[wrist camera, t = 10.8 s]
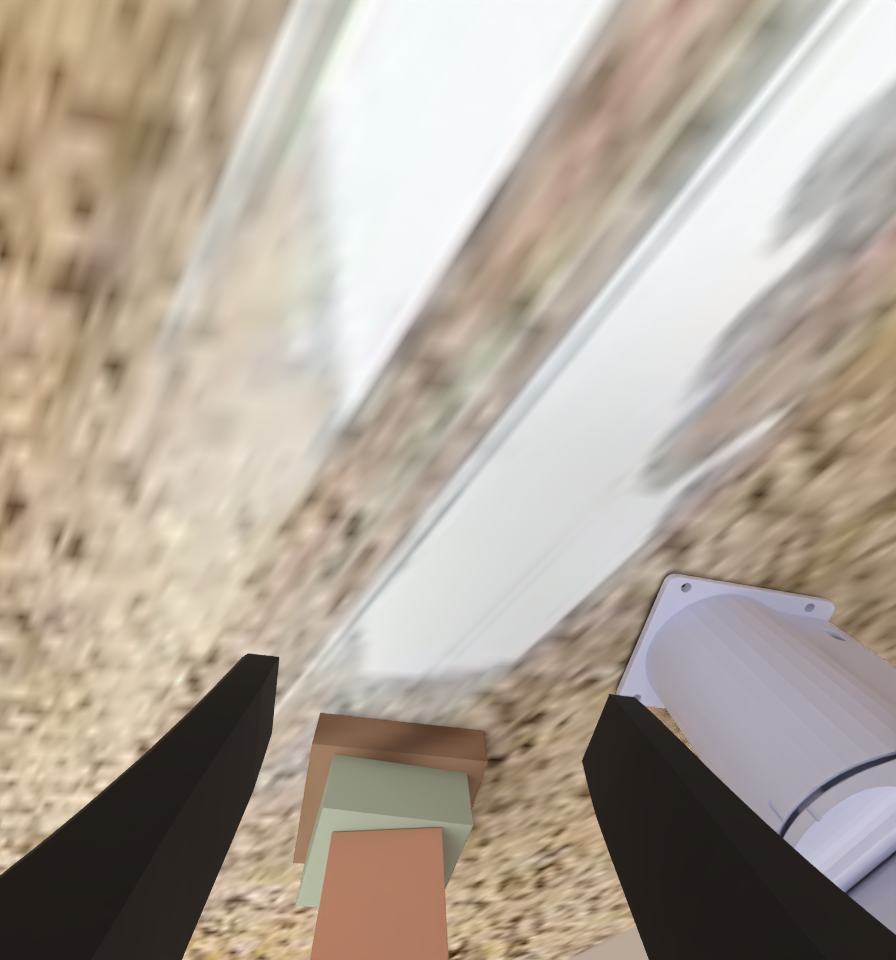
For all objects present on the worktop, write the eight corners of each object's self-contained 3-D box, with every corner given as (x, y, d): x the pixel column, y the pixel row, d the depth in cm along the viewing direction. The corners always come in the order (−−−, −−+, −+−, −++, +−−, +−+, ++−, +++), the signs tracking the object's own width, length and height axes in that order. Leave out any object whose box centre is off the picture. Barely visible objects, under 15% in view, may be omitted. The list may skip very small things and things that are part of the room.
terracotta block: (441, 827, 19) (449, 987, 14) (437, 894, 21) (443, 1057, 16) (332, 832, 19) (303, 999, 14) (336, 899, 20) (311, 1069, 16)
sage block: (466, 772, 22) (472, 825, 19) (431, 859, 24) (432, 916, 21) (333, 754, 21) (323, 807, 18) (308, 846, 23) (295, 905, 20)
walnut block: (481, 719, 24) (487, 761, 21) (447, 825, 27) (450, 872, 24) (323, 701, 23) (312, 743, 20) (304, 813, 25) (293, 862, 23)
